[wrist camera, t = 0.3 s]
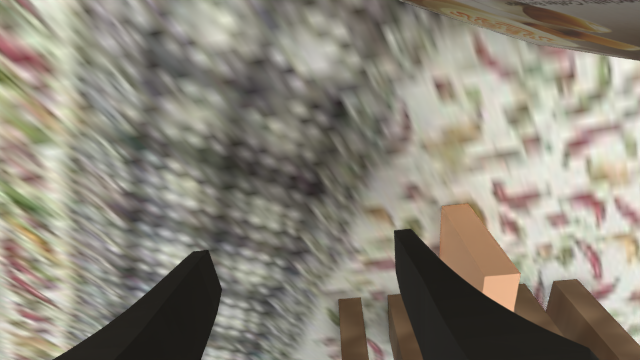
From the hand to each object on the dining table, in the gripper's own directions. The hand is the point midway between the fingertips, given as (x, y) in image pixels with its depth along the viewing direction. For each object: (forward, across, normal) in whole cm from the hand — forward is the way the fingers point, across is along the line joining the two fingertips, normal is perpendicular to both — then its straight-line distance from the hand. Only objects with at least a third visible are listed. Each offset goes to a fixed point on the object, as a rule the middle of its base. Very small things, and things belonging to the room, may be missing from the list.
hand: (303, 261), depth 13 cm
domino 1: (+10, -1, +15) cm, 18 cm away
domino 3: (+10, -9, +7) cm, 16 cm away
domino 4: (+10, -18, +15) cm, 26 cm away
